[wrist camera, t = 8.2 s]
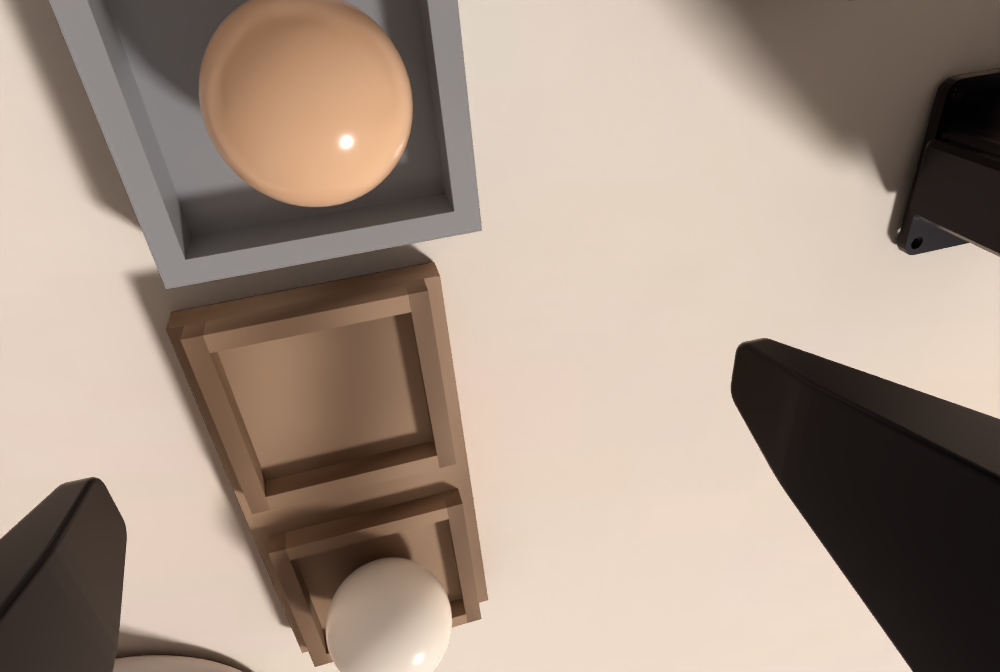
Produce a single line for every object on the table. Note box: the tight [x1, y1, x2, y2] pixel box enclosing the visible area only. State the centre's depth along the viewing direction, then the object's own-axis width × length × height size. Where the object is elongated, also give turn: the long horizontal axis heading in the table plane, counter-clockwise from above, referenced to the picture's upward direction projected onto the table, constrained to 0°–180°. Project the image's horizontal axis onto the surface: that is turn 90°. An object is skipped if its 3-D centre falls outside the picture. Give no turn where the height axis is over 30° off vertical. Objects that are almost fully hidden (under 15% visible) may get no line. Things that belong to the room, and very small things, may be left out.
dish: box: [49, 0, 482, 289], centre depth 17 cm, size 8×8×2 cm
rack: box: [166, 262, 488, 667], centre depth 24 cm, size 8×16×2 cm, turn 5°
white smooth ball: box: [326, 557, 452, 672], centre depth 25 cm, size 5×5×5 cm
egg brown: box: [199, 0, 413, 207], centre depth 15 cm, size 5×5×5 cm
